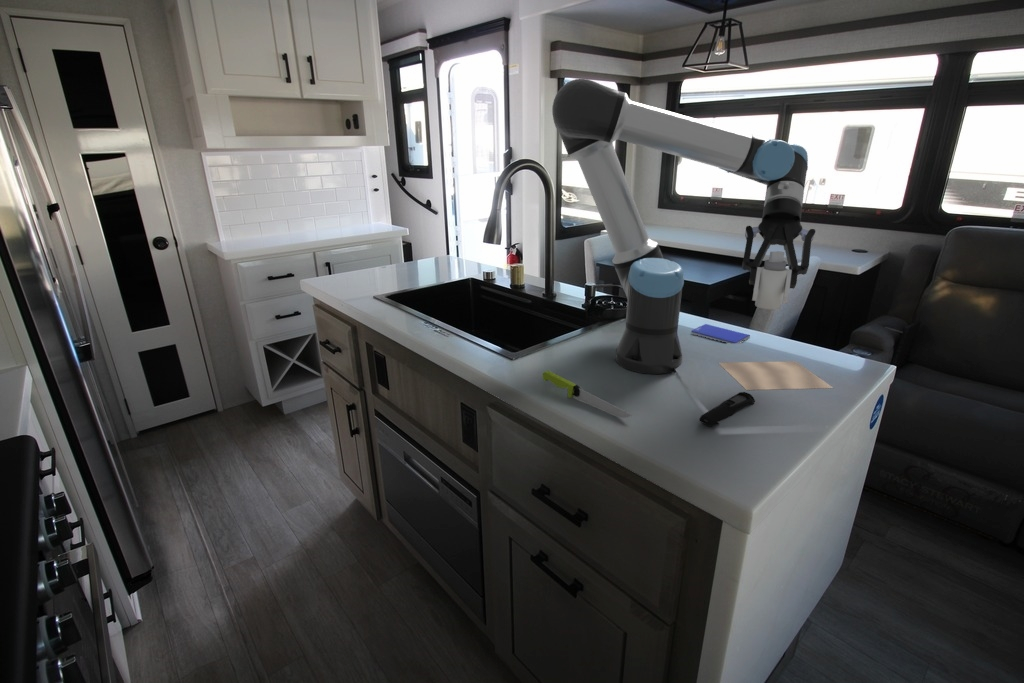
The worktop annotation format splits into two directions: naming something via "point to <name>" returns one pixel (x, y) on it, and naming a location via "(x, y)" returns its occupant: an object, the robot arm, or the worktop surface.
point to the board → (773, 375)
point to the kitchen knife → (584, 395)
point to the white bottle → (772, 282)
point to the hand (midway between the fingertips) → (769, 298)
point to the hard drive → (720, 334)
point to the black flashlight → (727, 408)
